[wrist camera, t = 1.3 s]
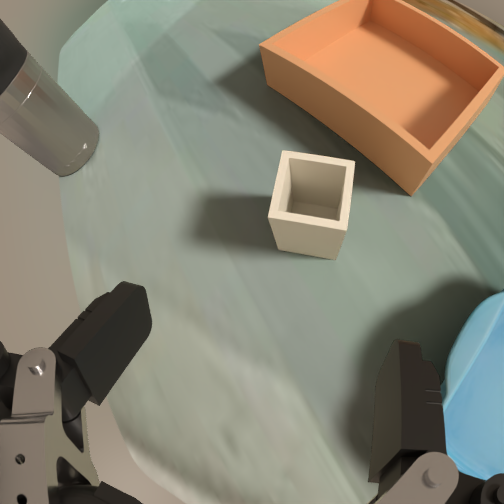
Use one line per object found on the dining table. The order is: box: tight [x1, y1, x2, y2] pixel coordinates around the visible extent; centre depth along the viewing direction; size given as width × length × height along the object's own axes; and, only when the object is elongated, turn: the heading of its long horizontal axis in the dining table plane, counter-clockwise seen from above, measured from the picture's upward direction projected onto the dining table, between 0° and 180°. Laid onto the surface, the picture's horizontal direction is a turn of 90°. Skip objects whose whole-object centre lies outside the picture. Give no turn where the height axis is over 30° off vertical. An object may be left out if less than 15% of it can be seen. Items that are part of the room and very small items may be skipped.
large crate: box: [259, 0, 504, 196], centre depth 31 cm, size 22×22×7 cm
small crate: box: [268, 150, 355, 260], centre depth 27 cm, size 6×6×9 cm
